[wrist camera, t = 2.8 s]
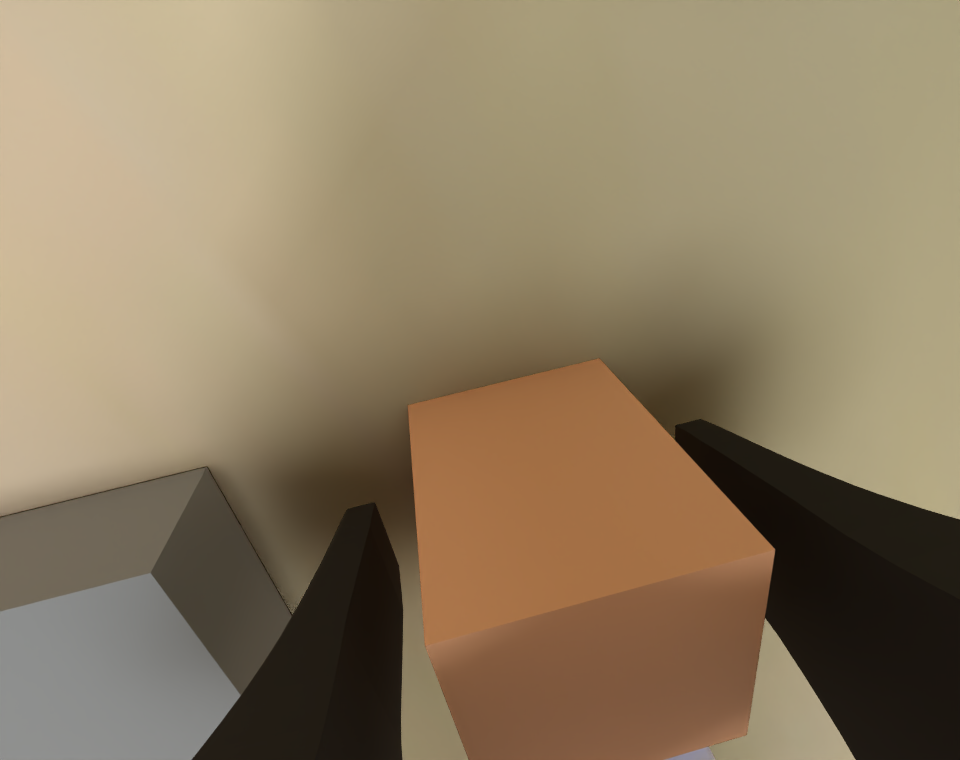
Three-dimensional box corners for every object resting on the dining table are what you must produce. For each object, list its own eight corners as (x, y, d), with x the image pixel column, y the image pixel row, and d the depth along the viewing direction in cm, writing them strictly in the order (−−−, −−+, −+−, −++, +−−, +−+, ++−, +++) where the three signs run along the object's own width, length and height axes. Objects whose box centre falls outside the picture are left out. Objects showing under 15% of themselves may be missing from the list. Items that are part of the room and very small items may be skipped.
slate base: (206, 466, 11) (149, 573, 8) (344, 708, 16) (335, 824, 13) (-267, 583, 10) (-489, 736, 8) (25, 797, 15) (-51, 938, 13)
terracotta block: (598, 357, 12) (775, 550, 6) (609, 502, 14) (746, 735, 8) (407, 404, 11) (425, 646, 6) (449, 544, 13) (488, 812, 8)
